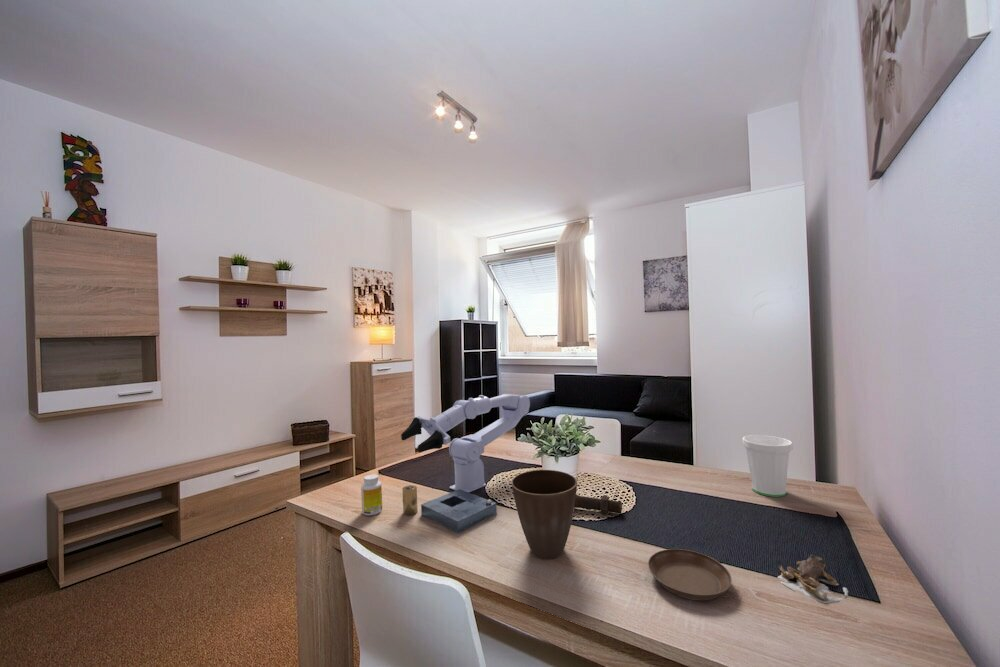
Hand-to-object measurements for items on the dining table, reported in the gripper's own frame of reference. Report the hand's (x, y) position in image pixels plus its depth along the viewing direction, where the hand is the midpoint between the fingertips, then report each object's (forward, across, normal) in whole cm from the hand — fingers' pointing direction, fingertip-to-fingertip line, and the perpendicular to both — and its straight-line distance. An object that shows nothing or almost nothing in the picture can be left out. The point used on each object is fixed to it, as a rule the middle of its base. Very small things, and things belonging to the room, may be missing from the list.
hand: (410, 443), depth 115 cm
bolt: (-25, +48, +12) cm, 55 cm away
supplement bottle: (+13, -2, +18) cm, 23 cm away
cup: (-67, +84, +12) cm, 108 cm away
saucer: (-10, +75, -2) cm, 75 cm away
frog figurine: (-24, +92, -4) cm, 96 cm away
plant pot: (-2, +47, +5) cm, 48 cm away
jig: (-1, +19, +15) cm, 24 cm away
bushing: (+7, +7, +17) cm, 19 cm away
